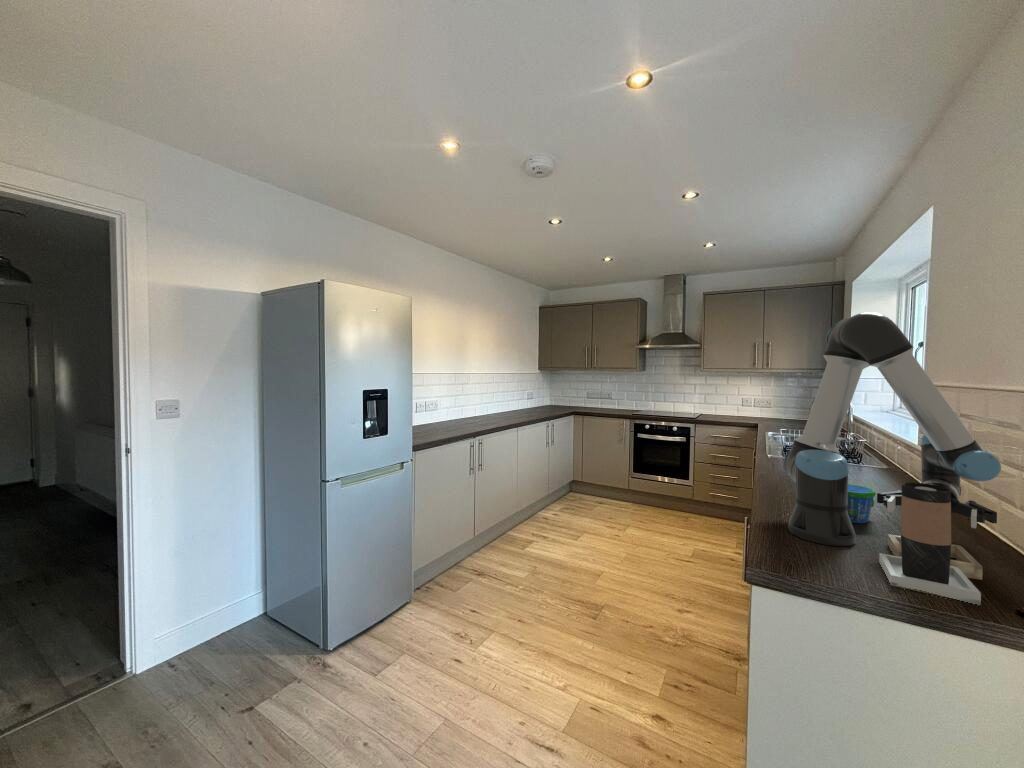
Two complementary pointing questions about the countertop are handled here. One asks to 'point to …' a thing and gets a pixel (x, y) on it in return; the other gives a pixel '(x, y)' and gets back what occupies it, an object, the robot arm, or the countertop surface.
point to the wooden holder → (963, 557)
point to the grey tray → (955, 589)
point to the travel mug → (926, 532)
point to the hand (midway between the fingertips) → (929, 514)
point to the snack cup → (860, 503)
